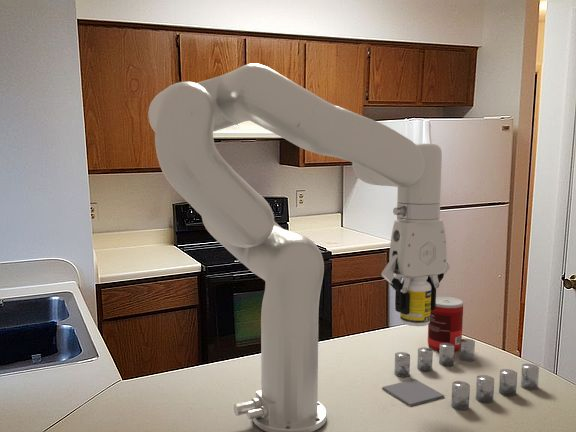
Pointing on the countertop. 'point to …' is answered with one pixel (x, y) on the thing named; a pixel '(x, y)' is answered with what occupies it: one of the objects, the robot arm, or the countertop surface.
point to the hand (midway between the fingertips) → (415, 309)
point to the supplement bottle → (418, 303)
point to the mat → (412, 392)
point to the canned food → (446, 323)
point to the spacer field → (483, 381)
